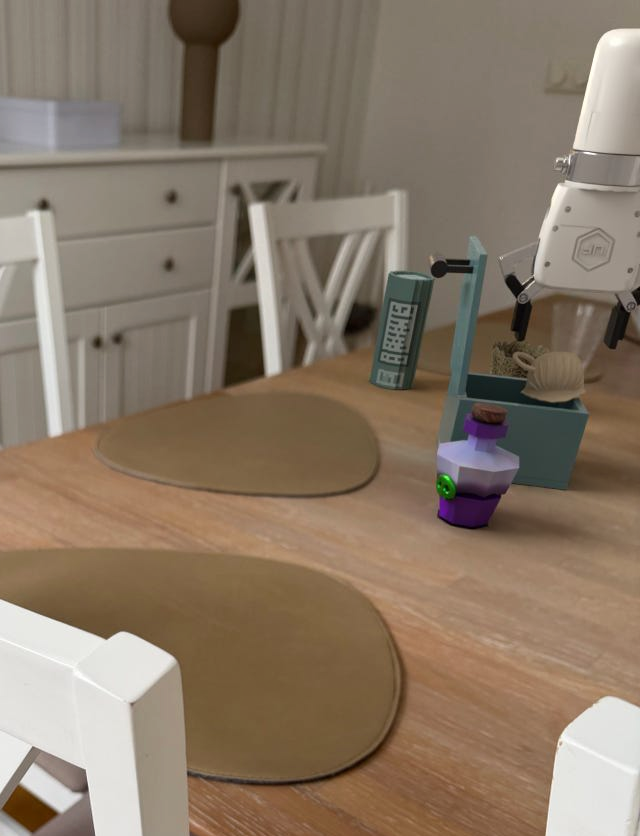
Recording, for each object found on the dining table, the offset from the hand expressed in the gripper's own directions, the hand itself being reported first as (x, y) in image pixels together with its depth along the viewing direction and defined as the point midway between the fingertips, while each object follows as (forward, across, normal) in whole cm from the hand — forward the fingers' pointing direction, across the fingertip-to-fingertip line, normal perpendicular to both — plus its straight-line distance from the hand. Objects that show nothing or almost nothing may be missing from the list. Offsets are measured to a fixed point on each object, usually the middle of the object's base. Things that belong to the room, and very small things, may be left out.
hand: (563, 342), depth 108 cm
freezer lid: (-2, -10, 0) cm, 11 cm away
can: (+14, -16, +29) cm, 36 cm away
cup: (+15, 0, +25) cm, 29 cm away
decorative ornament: (+6, 0, 0) cm, 7 cm away
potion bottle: (+15, -10, -18) cm, 25 cm away
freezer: (+15, -4, 0) cm, 15 cm away
